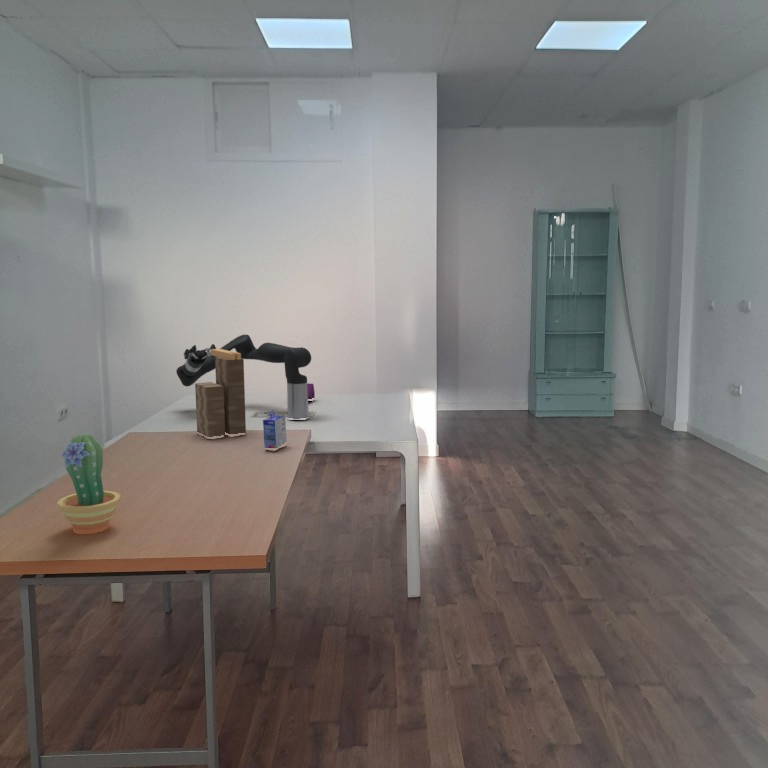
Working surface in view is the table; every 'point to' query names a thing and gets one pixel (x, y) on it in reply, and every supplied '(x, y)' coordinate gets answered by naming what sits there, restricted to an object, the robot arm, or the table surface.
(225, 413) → the step stand
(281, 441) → the ink cartridge box
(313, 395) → the mounting bracket
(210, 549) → the table surface
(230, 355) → the slotted slat
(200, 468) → the table surface
